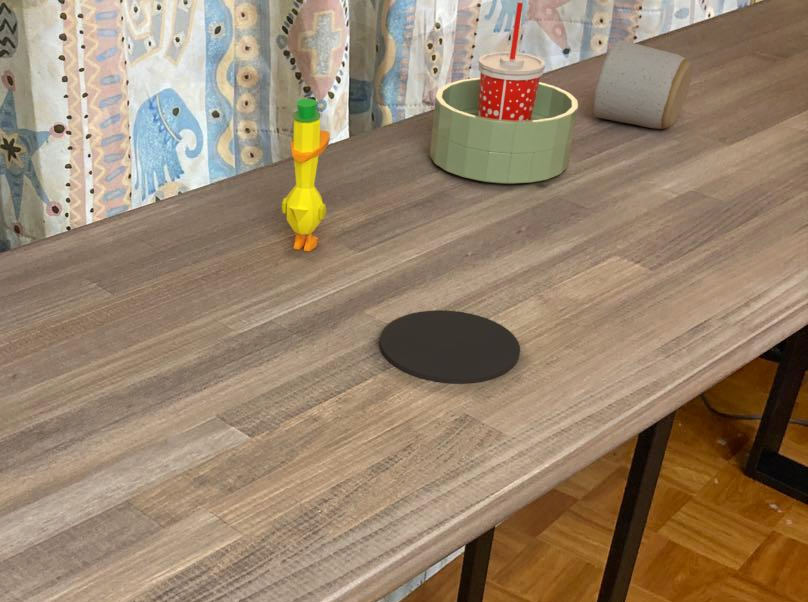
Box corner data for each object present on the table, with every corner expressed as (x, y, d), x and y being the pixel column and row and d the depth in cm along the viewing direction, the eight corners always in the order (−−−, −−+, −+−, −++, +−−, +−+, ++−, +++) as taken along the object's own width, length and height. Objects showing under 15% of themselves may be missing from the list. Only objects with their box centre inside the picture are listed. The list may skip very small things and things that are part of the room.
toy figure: (299, 225, 97) (304, 82, 90) (338, 232, 96) (346, 88, 89) (272, 257, 92) (274, 108, 85) (313, 264, 91) (319, 114, 84)
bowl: (566, 143, 114) (577, 82, 110) (567, 193, 104) (579, 127, 100) (435, 133, 116) (441, 72, 112) (424, 180, 106) (430, 116, 102)
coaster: (520, 322, 84) (521, 317, 84) (517, 391, 76) (518, 386, 76) (387, 308, 85) (388, 304, 85) (371, 374, 78) (371, 369, 78)
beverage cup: (535, 151, 111) (560, -2, 102) (523, 172, 106) (548, 14, 98) (474, 143, 113) (493, -9, 104) (460, 163, 108) (478, 6, 99)
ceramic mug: (664, 140, 115) (683, 61, 110) (586, 125, 118) (601, 48, 113) (690, 113, 122) (709, 37, 117) (616, 99, 125) (631, 26, 120)
